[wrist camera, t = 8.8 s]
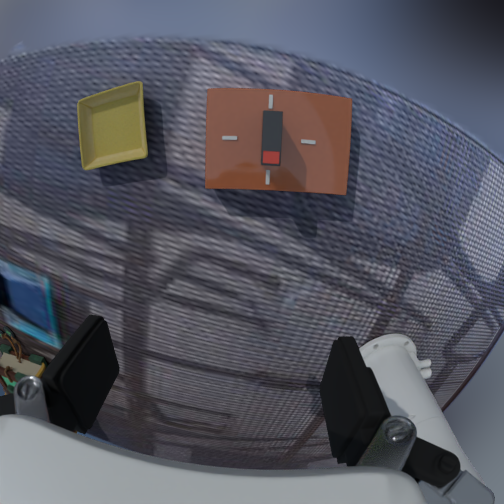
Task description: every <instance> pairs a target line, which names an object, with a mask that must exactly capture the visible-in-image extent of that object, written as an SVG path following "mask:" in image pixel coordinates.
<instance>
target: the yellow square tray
mask: <svg viewBox="0 0 504 504" xmlns="http://www.w3.org/2000/svg"><path fill="white" fill-rule="evenodd" d="M77 111H78V127H79V140H80V150H81V161H82V167H83V169H84V170H91V169H95V168H99V167H103V166H107V165H112V164H116V163H121V162H126V161H131V160H137V159H143V158H146V157H147V156H148V148H147V139H146V128H145V116H144V100H143V84H142V82H140V81H138V82H133V83H130V84H126V85H123V86H119V87H116V88H112V89H110V90H107V91H104V92H101V93H98V94H95V95H92V96H89V97H86V98H83V99H81V100H79V102H78V104H77Z"/></svg>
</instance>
